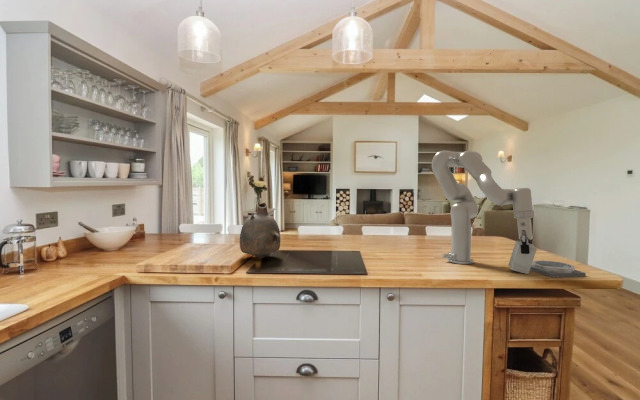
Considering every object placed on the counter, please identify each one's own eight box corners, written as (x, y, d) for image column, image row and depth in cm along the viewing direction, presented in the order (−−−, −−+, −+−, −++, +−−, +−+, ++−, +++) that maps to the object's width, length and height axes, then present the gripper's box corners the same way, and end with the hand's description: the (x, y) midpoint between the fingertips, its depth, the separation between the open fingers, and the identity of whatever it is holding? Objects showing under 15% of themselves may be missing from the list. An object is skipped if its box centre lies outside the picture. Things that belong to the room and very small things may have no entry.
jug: (230, 262, 170) (230, 203, 169) (246, 253, 191) (246, 201, 190) (276, 264, 166) (276, 204, 165) (287, 255, 187) (288, 202, 186)
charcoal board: (551, 277, 146) (551, 274, 146) (522, 267, 163) (522, 264, 163) (585, 276, 149) (585, 272, 149) (553, 266, 166) (553, 263, 166)
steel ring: (551, 273, 147) (552, 269, 147) (524, 264, 163) (524, 260, 163) (584, 272, 149) (584, 268, 149) (553, 263, 165) (553, 259, 165)
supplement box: (528, 274, 151) (537, 249, 148) (510, 269, 153) (519, 244, 150) (525, 268, 158) (533, 244, 155) (507, 264, 160) (515, 239, 157)
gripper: (531, 215, 144) (534, 255, 144) (534, 213, 158) (537, 249, 158) (511, 216, 148) (514, 254, 148) (515, 214, 163) (518, 249, 162)
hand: (526, 252), depth 153 cm, fingers open, 9 cm apart
